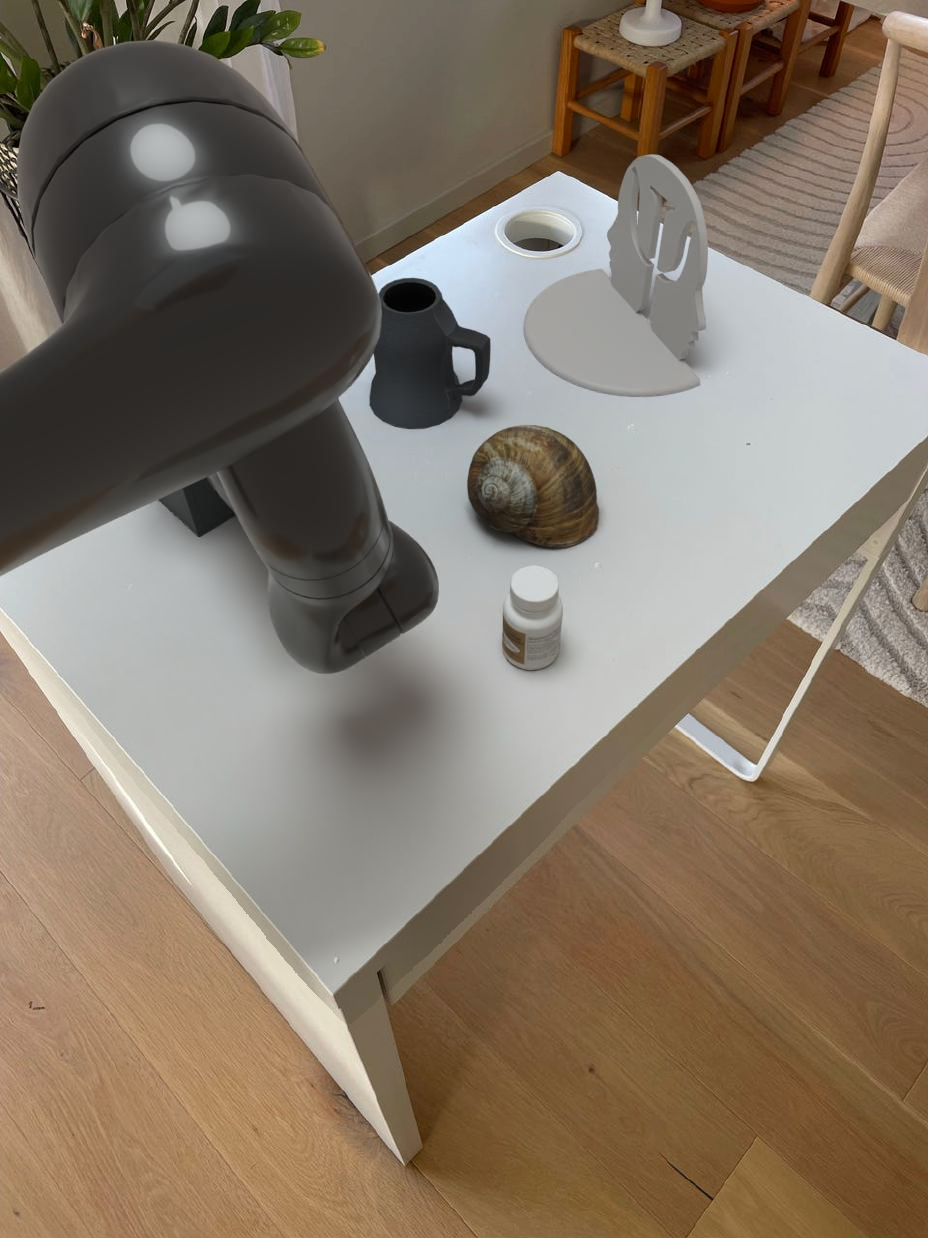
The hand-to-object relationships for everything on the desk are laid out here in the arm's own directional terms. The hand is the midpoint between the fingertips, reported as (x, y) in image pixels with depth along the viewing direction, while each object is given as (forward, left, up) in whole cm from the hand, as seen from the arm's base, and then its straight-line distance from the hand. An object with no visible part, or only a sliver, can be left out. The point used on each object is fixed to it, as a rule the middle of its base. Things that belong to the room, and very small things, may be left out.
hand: (173, 334), depth 78 cm
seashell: (+21, -23, -13) cm, 33 cm away
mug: (+21, -5, -13) cm, 25 cm away
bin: (0, -3, -13) cm, 13 cm away
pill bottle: (+13, -35, -13) cm, 39 cm away
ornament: (+40, -5, -13) cm, 42 cm away
